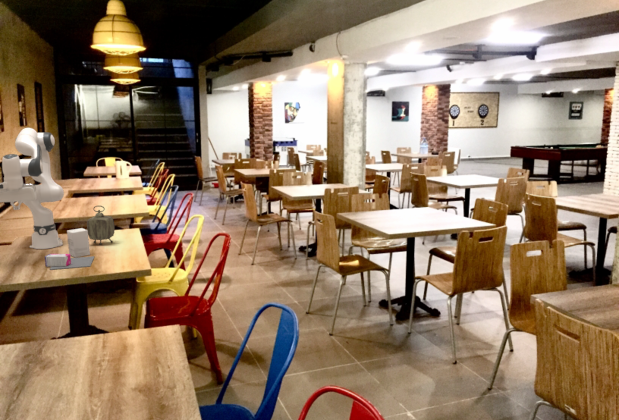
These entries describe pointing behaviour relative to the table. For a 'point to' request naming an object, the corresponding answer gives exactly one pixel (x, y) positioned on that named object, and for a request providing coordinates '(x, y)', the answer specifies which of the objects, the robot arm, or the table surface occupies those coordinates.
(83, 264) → the mat
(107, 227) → the tabletop clock
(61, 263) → the supplement box
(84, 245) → the supplement box
